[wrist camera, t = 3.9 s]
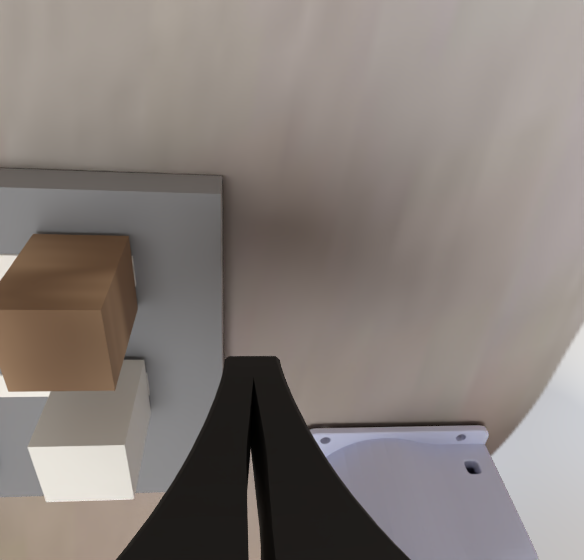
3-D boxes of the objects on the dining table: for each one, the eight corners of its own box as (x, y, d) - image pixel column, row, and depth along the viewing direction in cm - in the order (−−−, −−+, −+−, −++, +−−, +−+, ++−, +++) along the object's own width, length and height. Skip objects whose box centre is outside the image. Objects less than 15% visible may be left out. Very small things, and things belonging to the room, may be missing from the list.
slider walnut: (128, 235, 17) (101, 310, 13) (137, 308, 18) (114, 390, 15) (33, 233, 16) (-20, 309, 13) (51, 307, 18) (8, 391, 15)
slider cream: (144, 359, 20) (124, 445, 16) (150, 412, 21) (134, 499, 18) (63, 359, 19) (27, 447, 16) (77, 413, 21) (46, 502, 18)
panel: (222, 175, 18) (219, 207, 15) (224, 464, 26) (222, 508, 24) (-331, 156, 16) (-418, 190, 14) (-129, 473, 25) (-163, 522, 23)
